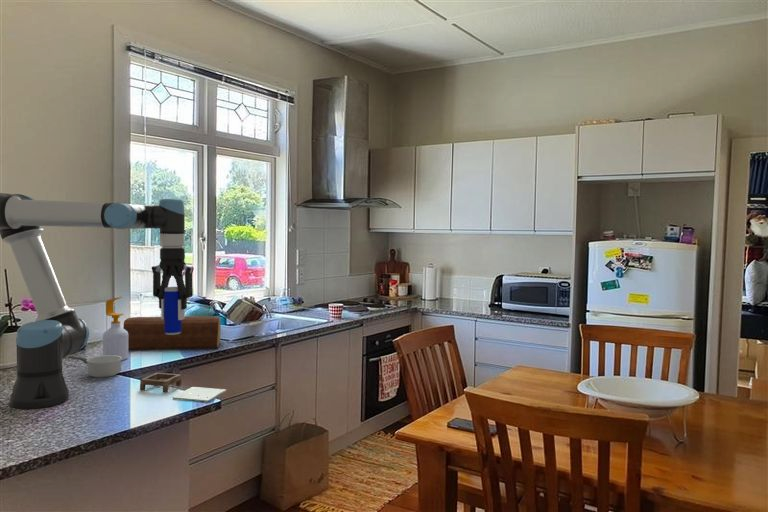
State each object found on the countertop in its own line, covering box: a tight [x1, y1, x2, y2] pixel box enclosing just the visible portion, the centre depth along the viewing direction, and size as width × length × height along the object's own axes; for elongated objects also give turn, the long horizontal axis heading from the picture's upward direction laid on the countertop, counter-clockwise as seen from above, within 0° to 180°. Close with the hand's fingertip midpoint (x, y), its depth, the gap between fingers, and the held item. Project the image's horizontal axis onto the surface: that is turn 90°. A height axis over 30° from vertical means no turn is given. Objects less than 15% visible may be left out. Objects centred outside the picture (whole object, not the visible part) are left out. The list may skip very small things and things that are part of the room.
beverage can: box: [164, 286, 181, 335], centre depth 184 cm, size 5×5×15 cm
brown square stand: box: [139, 372, 182, 393], centre depth 187 cm, size 9×9×4 cm
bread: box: [122, 315, 222, 351], centre depth 250 cm, size 16×39×13 cm, turn 103°
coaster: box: [171, 386, 227, 403], centre depth 180 cm, size 12×12×1 cm
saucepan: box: [67, 355, 122, 378], centre depth 203 cm, size 12×20×6 cm, turn 78°
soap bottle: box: [102, 296, 129, 362], centre depth 224 cm, size 9×9×25 cm
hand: (173, 318), depth 184 cm, fingers closed on beverage can, 5 cm apart
